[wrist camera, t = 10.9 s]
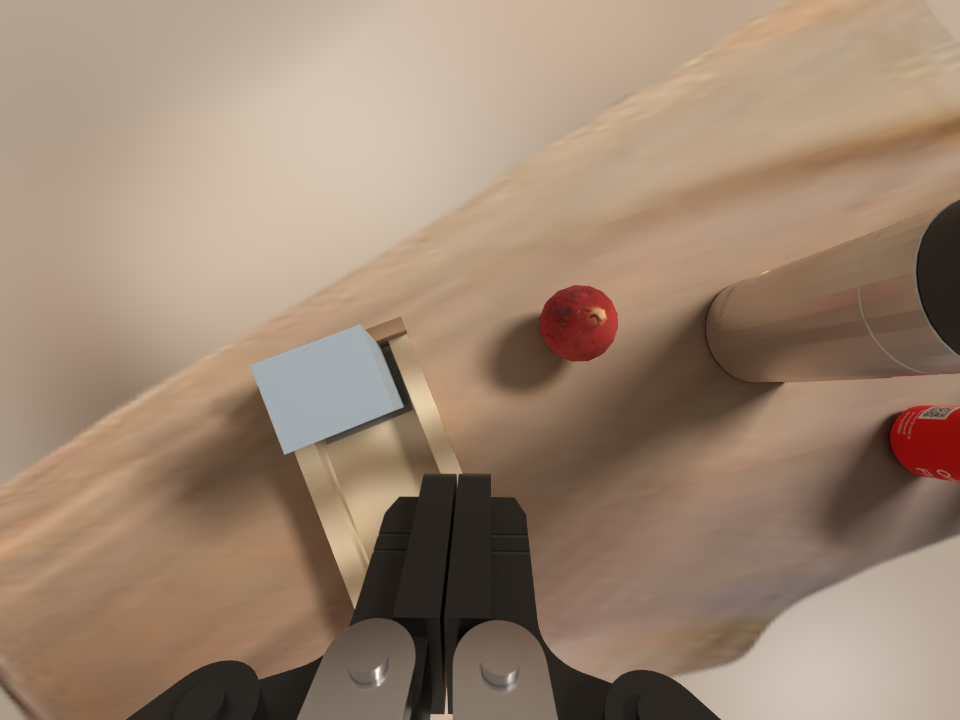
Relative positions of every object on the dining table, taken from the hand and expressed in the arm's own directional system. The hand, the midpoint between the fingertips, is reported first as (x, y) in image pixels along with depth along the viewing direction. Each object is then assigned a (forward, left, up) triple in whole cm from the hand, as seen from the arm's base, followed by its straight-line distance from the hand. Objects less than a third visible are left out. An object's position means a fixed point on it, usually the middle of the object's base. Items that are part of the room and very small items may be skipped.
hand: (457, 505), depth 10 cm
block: (+7, 0, -25) cm, 26 cm away
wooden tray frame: (+2, +4, -26) cm, 27 cm away
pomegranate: (-7, -12, -26) cm, 30 cm away
